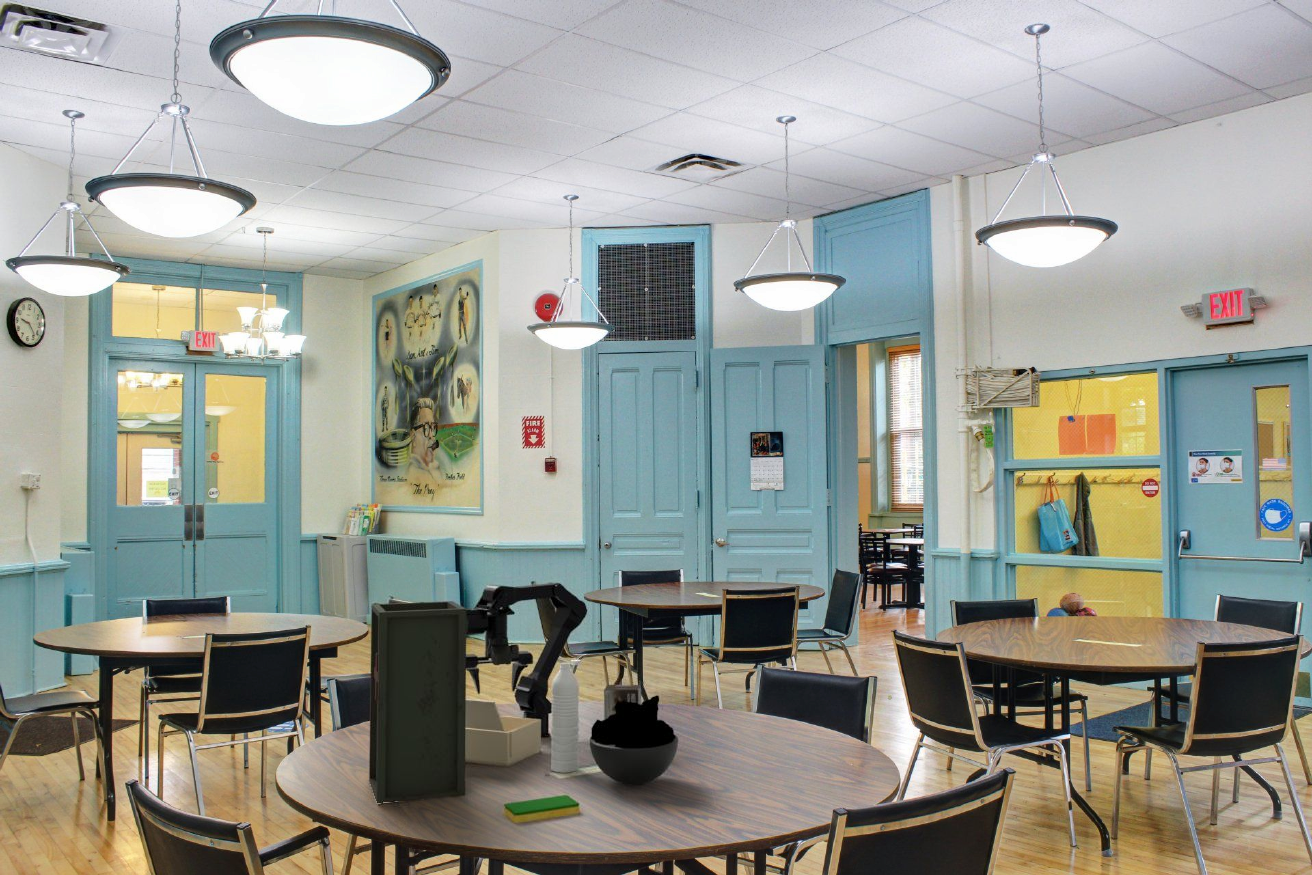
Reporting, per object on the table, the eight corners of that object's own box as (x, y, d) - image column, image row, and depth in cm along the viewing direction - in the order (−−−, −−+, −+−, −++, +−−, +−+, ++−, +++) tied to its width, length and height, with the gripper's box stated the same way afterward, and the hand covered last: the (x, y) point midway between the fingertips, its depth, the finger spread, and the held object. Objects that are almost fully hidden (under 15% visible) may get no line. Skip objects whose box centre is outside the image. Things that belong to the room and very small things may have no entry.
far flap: (428, 695, 247) (427, 696, 247) (494, 701, 240) (493, 702, 239) (439, 723, 251) (438, 724, 250) (505, 729, 243) (504, 731, 243)
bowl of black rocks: (600, 799, 216) (599, 709, 217) (581, 775, 235) (581, 692, 236) (689, 792, 221) (689, 704, 223) (664, 768, 241) (664, 688, 242)
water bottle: (567, 774, 236) (567, 665, 237) (545, 770, 239) (545, 663, 241) (589, 766, 243) (589, 660, 245) (568, 762, 247) (568, 658, 248)
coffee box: (642, 747, 261) (642, 684, 262) (639, 754, 255) (639, 688, 255) (607, 747, 262) (607, 683, 263) (603, 753, 255) (603, 688, 256)
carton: (473, 743, 266) (473, 712, 267) (543, 750, 258) (543, 719, 258) (436, 758, 251) (436, 725, 251) (509, 766, 243) (509, 732, 243)
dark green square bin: (369, 781, 230) (371, 604, 233) (450, 773, 237) (452, 601, 239) (376, 804, 213) (379, 612, 216) (464, 795, 220) (466, 608, 222)
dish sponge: (579, 815, 207) (579, 803, 207) (515, 825, 201) (515, 812, 201) (566, 805, 213) (566, 794, 213) (503, 815, 207) (503, 803, 207)
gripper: (467, 638, 258) (466, 700, 257) (538, 634, 265) (538, 695, 264) (458, 633, 268) (458, 693, 267) (527, 629, 275) (527, 687, 274)
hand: (495, 692), depth 268 cm, fingers open, 9 cm apart
